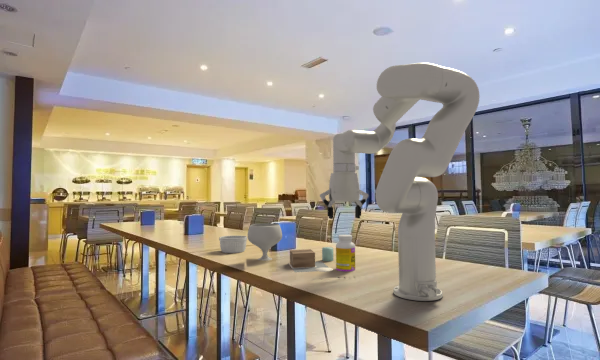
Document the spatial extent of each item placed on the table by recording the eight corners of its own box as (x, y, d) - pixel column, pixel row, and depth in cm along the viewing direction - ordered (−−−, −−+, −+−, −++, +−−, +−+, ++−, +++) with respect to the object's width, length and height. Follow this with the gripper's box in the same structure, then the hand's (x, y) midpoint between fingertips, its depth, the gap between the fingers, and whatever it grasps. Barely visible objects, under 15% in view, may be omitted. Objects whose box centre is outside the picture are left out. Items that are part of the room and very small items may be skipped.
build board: (335, 274, 118) (335, 271, 118) (295, 276, 116) (295, 273, 116) (323, 264, 135) (323, 261, 135) (288, 266, 133) (288, 262, 133)
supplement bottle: (353, 275, 117) (353, 236, 117) (334, 274, 119) (333, 236, 119) (357, 271, 123) (356, 234, 124) (338, 270, 125) (338, 233, 126)
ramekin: (238, 248, 178) (238, 234, 178) (252, 251, 168) (252, 236, 168) (214, 251, 169) (214, 236, 170) (227, 254, 159) (227, 239, 159)
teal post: (334, 264, 136) (334, 248, 136) (323, 264, 135) (323, 249, 135) (331, 262, 140) (331, 246, 140) (321, 262, 139) (320, 247, 139)
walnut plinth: (315, 266, 125) (315, 252, 125) (293, 267, 124) (292, 253, 124) (310, 262, 133) (310, 249, 133) (289, 263, 132) (289, 250, 132)
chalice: (281, 265, 134) (281, 226, 135) (245, 265, 134) (244, 226, 135) (283, 258, 148) (282, 223, 149) (250, 258, 148) (250, 223, 149)
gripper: (363, 170, 128) (364, 217, 127) (317, 169, 125) (317, 217, 124) (371, 168, 120) (372, 218, 120) (322, 168, 117) (322, 219, 117)
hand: (344, 218), depth 122 cm, fingers open, 9 cm apart
